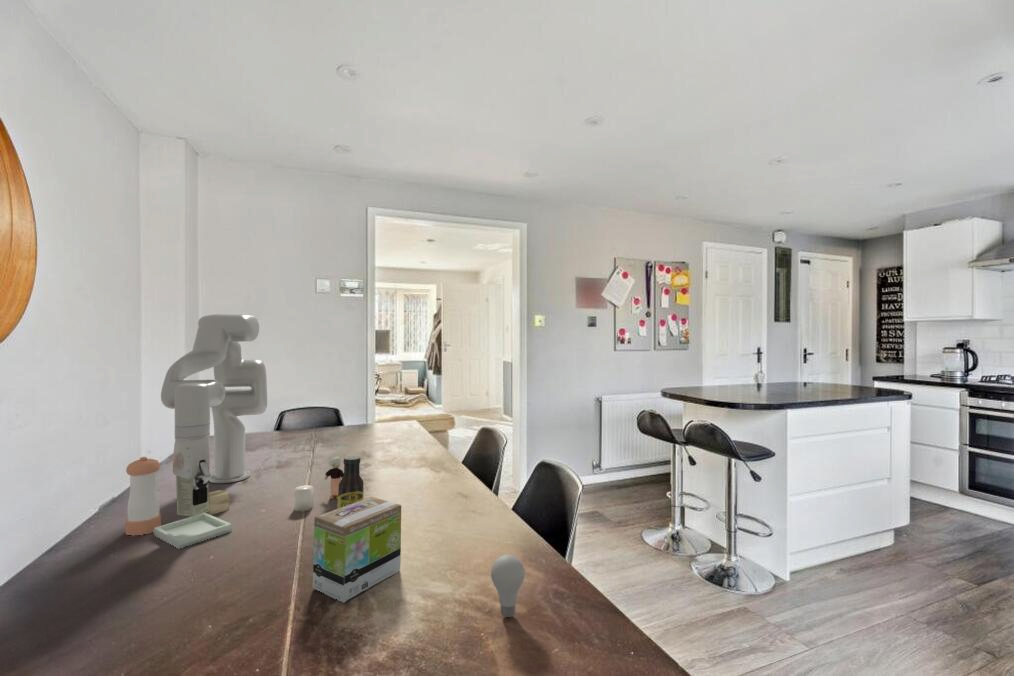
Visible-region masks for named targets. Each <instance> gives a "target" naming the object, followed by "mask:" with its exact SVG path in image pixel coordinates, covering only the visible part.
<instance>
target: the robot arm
mask: <svg viewBox="0 0 1014 676" xmlns="http://www.w3.org/2000/svg"><path fill="white" fill-rule="evenodd" d="M197 324H198V326H197V327H198V328H197V332H196V335H195V339H194V342H193V343H194V344H193V346H192V350H190V351H189V352H188V353H186V354H184V355H183V356H181V357H180V358H179V359H177V360H176V361H175V362H174V363H173V364H171V365H170V367H169V368H168V369H167V371H166V374H165V377H164V380H163V383H162V387H161V391H160V401H161V403H162V405H163V406H164V407H166V408H167V409H170V410H172V409H173V410H174V446H173V455H172V456H173V457H172V474H174V476H176V475H177V476H179V477H182V478H185V479H188V480H190V479H192V478H193V485H194V489H193V490H192V492H193V505H194V506H195V505H199V504H203V503H206V502H207V487H209V482H210V483H212V484H228V483H230V484H231V483H235V482H239V481H243V480H246V479H247V478H249V477H251V472H250V471H249V470H246V428H245V425H244V423H243V422H242V421H241V420H240V418H238V417H240V416H241V417H242V416H256V415H257V416H259V415H262V414H264V413H265V412H266V410H267V408H268V384H267V383H268V381H267V369H266V366H265V364H264V362H263V361H262V360H261V359H243V358H242V346H241V344H240V343H239V342H243V343H244V342H253V341H255V340H256V339H257V338H258V337H259V336H258V335H259V332H260V324H259V321H258V318H257V317H256V316H254V315H246V314H222V313H221V314H208V315H204V316H201V317H200V318H199V320H198V322H197ZM212 368H213V376H214V379H187V380H186V378H188V377H190V376H192V375H194V374H197V373H199V372H204V371H205V370H209V369H212ZM240 387H244V388H240ZM245 387H246V388H245ZM247 387H250V388H247ZM226 388H229V389H226ZM211 413H212V419H213V420H212V421H213V467H212V470H213V474H212V475H211V472H210V471H211V453H210V451H211V450H210V444H209V443H210V442H209V437H210V436H211ZM200 473H201V474H202V475H200V476H196V474H200ZM201 478H202V479H201ZM197 479H201V480H200V481H199V482H197Z"/></svg>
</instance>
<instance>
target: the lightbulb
mask: <svg viewBox="0 0 1014 676" xmlns="http://www.w3.org/2000/svg"><path fill="white" fill-rule="evenodd" d="M525 571H526V570H525V567H524V565H523V562H522V561H521V560H520V559H519V558H518V557H517V556H515V555H513V554H504V555H501V556H499V557H497V558H496V559H495V561H494V562H493V564H492V566H491V569H490V577H491V582H492V583H493V586H494V587H495V589H496V591H497V594H498V602H499V604H500V614H501V616H502V617H504V618H506V617H510V618H512V617H513V616H515V613H516V604H517V601H518V600H517V599H518V594H519V590H520V589H521V587H522V585H523V583H524V581H525V576H526V573H525Z"/></svg>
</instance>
